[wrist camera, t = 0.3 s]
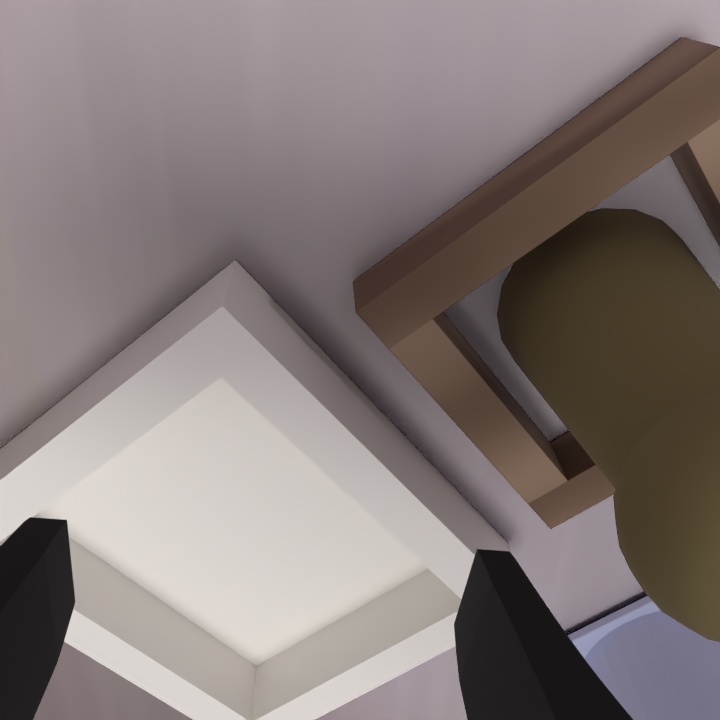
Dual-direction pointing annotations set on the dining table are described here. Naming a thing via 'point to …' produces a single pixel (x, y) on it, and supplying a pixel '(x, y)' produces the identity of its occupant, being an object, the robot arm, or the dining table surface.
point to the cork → (633, 389)
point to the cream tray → (244, 517)
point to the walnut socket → (522, 234)
